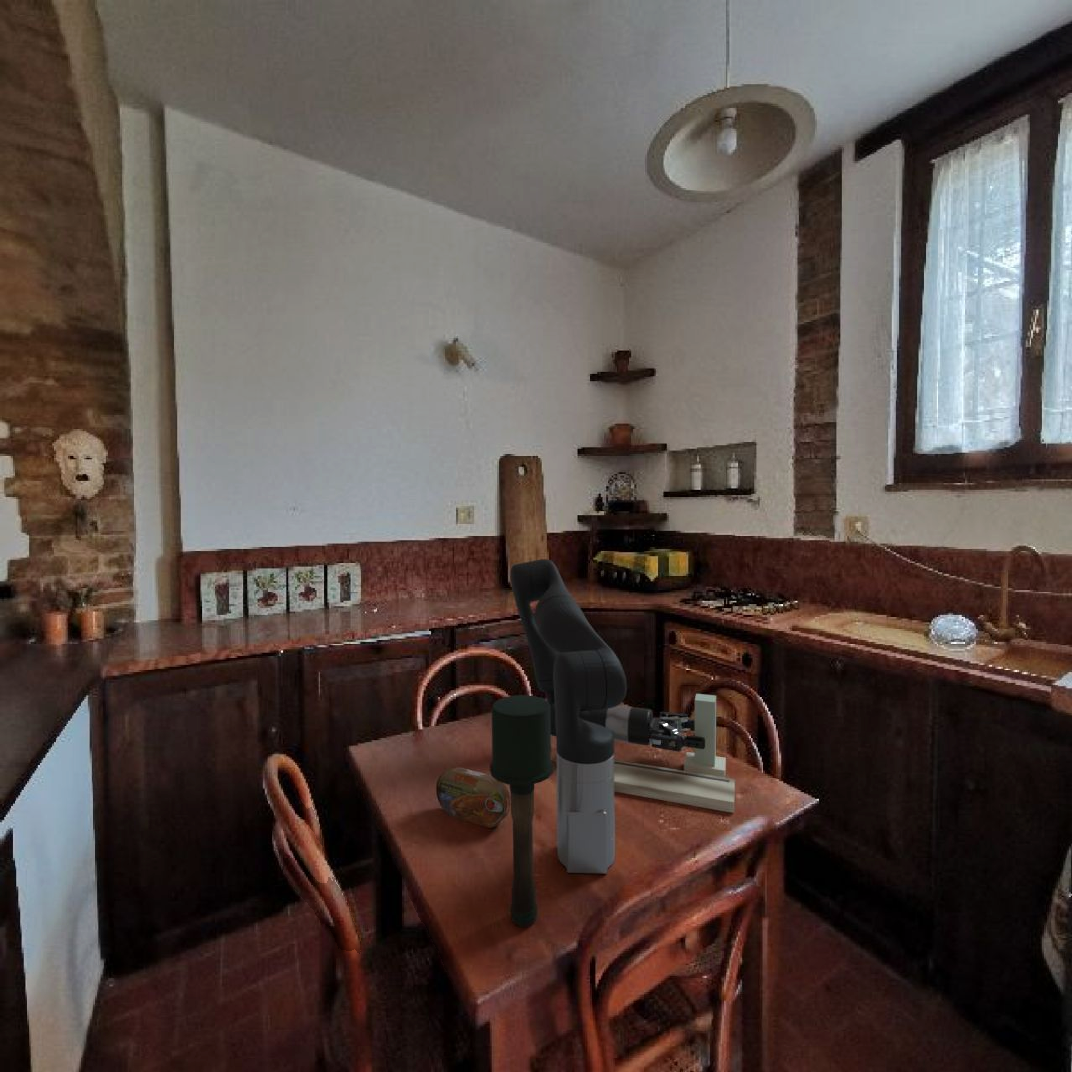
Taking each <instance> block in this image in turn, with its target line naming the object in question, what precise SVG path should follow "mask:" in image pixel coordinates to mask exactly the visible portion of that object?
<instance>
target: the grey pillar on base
mask: <svg viewBox="0 0 1072 1072" xmlns="http://www.w3.org/2000/svg"><path fill="white" fill-rule="evenodd" d="M694 697H695V698H694V720H695V731H694V736H698V737H704V738H705V748H704V749H698V748H694V752H690V751H687V752H686V755H685V758H684V763H683V771H688V772H694V773H700V774H707V775H713V776H719V777H725V778H726V769H727V758H726V757H722V756H717V753H716V751H717V749H716V748H717V745H716V744H717V739H716V738H717V695H712V694H702V693H696V694H695V696H694Z"/></svg>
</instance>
